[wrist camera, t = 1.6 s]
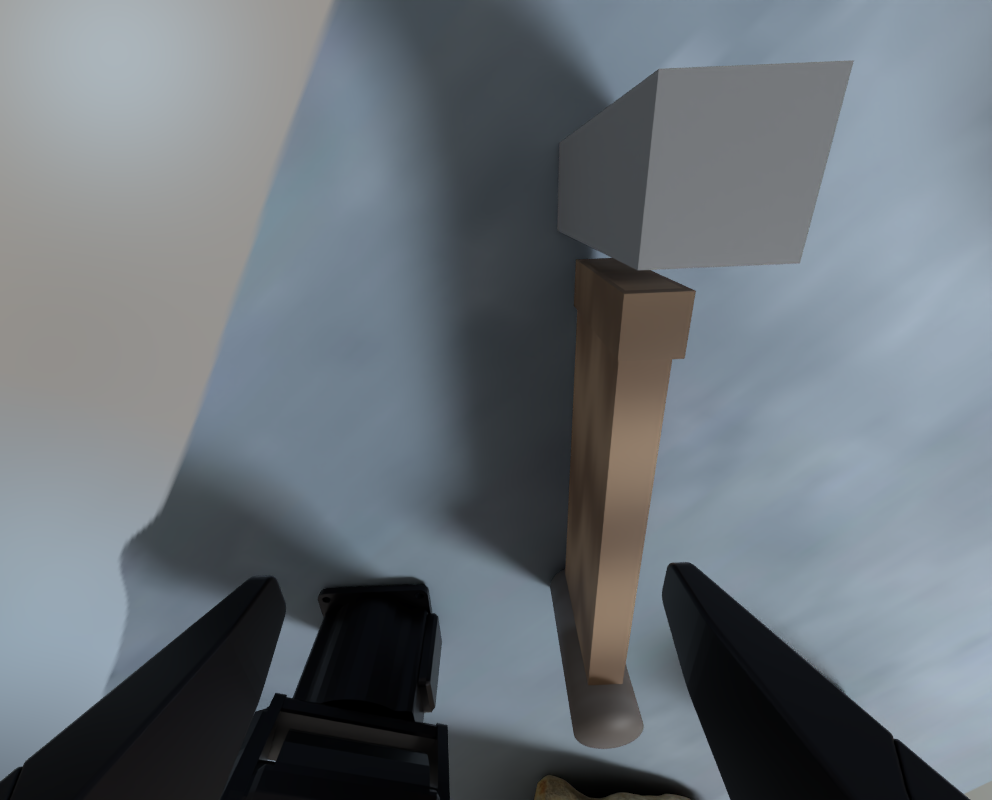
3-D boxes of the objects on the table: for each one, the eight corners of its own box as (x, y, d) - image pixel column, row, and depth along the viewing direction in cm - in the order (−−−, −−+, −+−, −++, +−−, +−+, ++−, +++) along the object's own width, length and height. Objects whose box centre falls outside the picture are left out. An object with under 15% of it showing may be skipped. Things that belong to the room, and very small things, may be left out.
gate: (599, 601, 25) (639, 747, 19) (549, 603, 25) (572, 749, 19) (633, 255, 17) (732, 295, 10) (558, 258, 17) (605, 300, 10)
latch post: (557, 230, 17) (637, 270, 8) (559, 143, 15) (658, 68, 6) (632, 227, 17) (799, 263, 8) (640, 139, 15) (853, 61, 6)
